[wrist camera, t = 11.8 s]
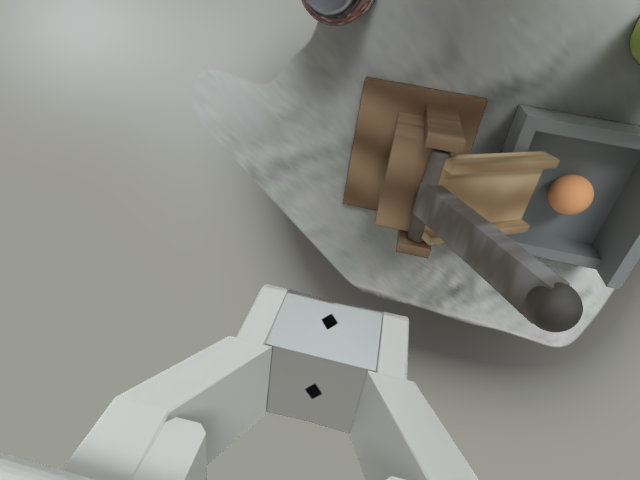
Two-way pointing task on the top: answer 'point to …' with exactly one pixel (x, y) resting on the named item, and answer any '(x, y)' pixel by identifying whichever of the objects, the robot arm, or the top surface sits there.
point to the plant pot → (636, 42)
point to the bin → (606, 179)
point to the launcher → (494, 228)
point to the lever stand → (405, 148)
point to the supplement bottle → (336, 10)
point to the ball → (570, 194)
